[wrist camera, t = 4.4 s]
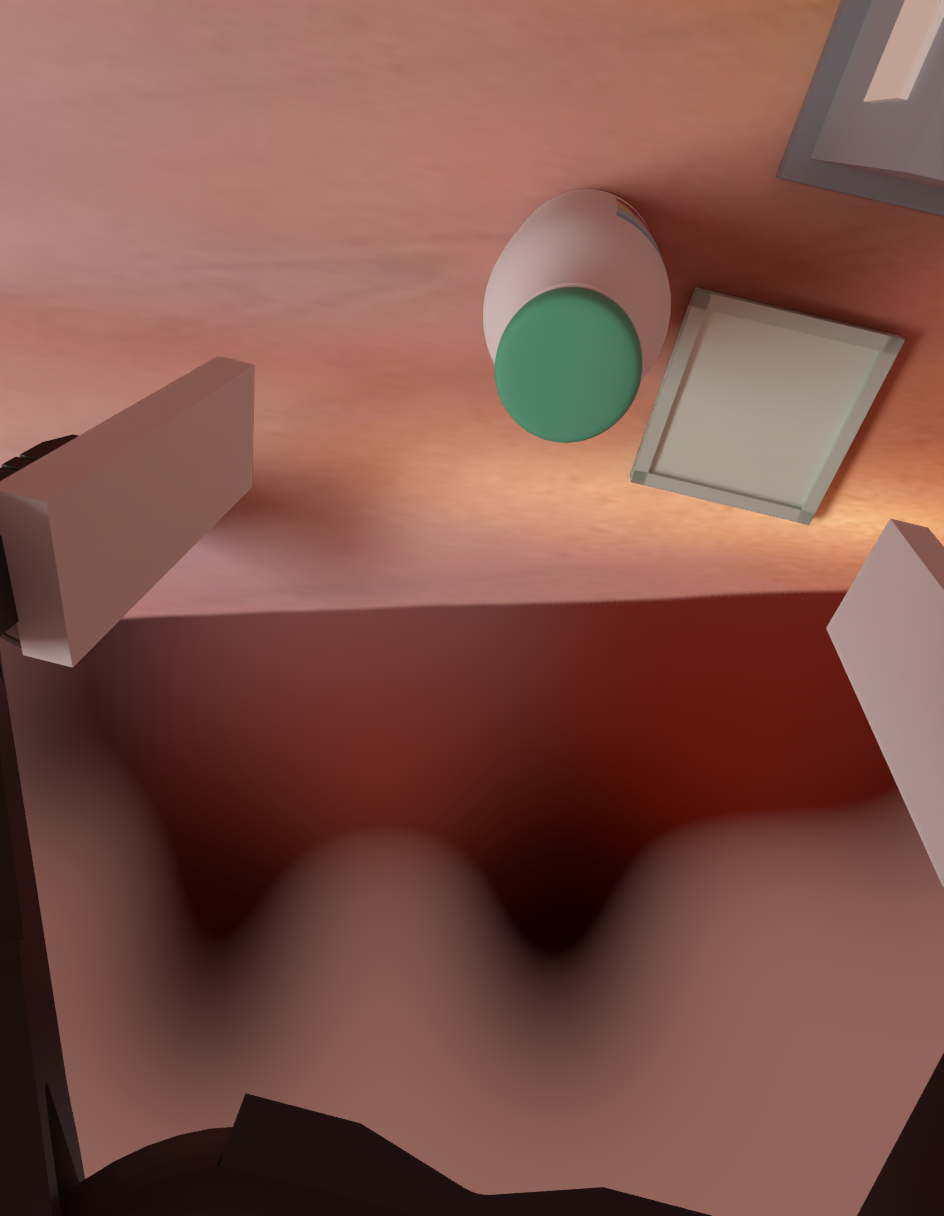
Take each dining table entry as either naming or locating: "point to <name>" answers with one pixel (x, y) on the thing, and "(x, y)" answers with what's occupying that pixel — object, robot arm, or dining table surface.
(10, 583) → the robot arm
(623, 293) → the milk bottle
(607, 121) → the dining table surface
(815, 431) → the pad
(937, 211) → the dispenser unit
